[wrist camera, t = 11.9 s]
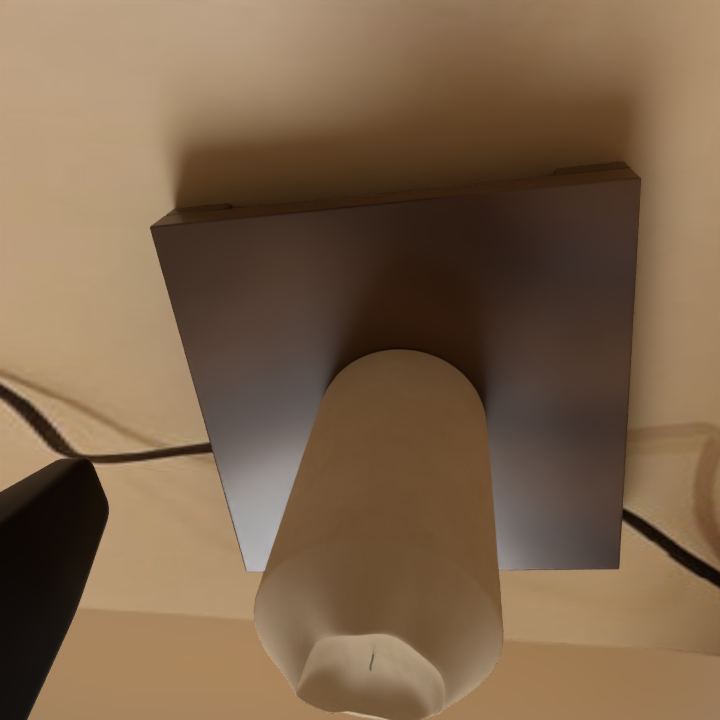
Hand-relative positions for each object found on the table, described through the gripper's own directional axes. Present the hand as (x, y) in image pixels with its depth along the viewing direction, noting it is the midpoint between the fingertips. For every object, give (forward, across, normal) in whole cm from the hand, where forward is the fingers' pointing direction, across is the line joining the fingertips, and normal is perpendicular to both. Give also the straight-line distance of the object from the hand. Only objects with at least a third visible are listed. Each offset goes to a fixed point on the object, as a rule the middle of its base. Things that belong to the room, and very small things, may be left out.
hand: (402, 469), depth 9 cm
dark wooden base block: (+13, +1, +6) cm, 15 cm away
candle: (+12, +1, +7) cm, 13 cm away
